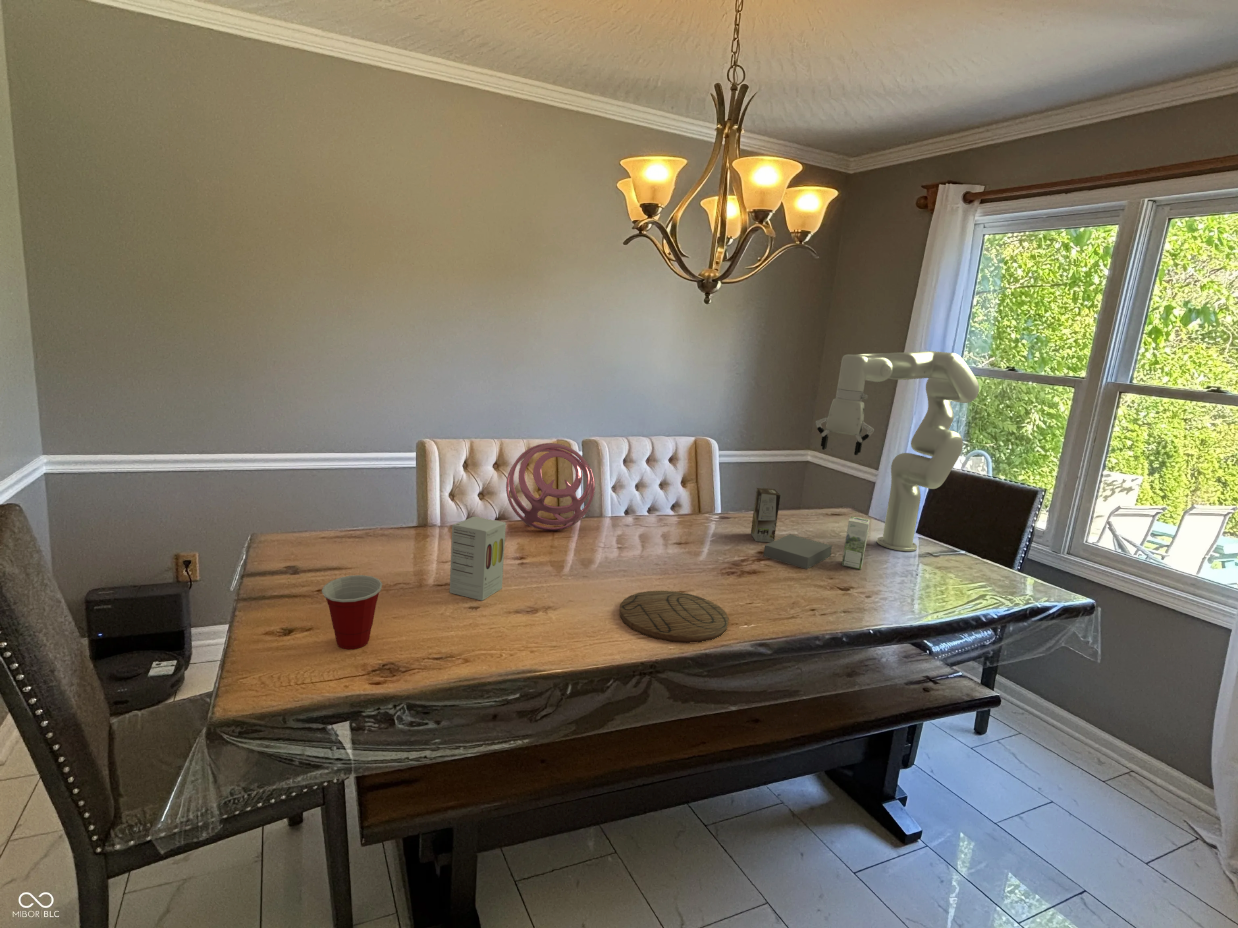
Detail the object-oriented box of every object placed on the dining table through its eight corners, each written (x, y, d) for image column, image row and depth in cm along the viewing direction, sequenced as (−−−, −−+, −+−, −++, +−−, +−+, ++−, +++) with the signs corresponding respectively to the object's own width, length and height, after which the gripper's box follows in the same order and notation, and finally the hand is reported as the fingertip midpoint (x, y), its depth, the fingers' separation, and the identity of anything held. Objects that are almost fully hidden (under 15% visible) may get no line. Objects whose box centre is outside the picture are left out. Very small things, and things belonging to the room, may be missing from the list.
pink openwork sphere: (514, 451, 232) (526, 417, 208) (591, 475, 237) (612, 445, 213) (491, 527, 220) (501, 500, 196) (573, 551, 225) (593, 527, 201)
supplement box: (482, 601, 157) (485, 531, 153) (448, 593, 160) (450, 524, 156) (503, 588, 166) (506, 521, 162) (470, 580, 169) (473, 515, 165)
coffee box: (774, 543, 221) (781, 495, 218) (754, 541, 221) (761, 493, 218) (769, 534, 230) (775, 488, 227) (750, 533, 230) (756, 486, 227)
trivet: (648, 650, 141) (649, 642, 140) (602, 602, 163) (603, 594, 163) (749, 637, 151) (750, 629, 151) (693, 593, 173) (694, 586, 173)
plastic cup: (308, 647, 129) (308, 588, 127) (349, 626, 139) (350, 570, 137) (354, 661, 126) (355, 600, 123) (393, 638, 136) (394, 581, 133)
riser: (788, 545, 221) (790, 534, 220) (830, 557, 213) (832, 545, 212) (763, 557, 207) (764, 545, 206) (806, 570, 199) (808, 557, 198)
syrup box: (863, 564, 207) (870, 518, 204) (861, 570, 202) (868, 523, 199) (843, 560, 209) (850, 515, 206) (841, 566, 204) (848, 519, 201)
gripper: (881, 399, 204) (871, 455, 207) (823, 392, 212) (814, 446, 216) (877, 400, 198) (867, 458, 201) (817, 392, 206) (808, 448, 209)
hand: (840, 451), depth 208 cm, fingers open, 9 cm apart
